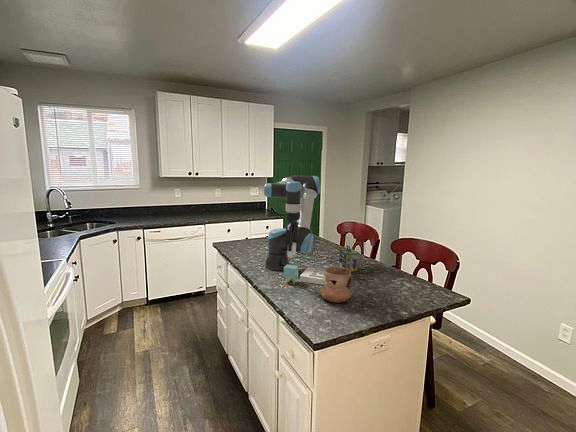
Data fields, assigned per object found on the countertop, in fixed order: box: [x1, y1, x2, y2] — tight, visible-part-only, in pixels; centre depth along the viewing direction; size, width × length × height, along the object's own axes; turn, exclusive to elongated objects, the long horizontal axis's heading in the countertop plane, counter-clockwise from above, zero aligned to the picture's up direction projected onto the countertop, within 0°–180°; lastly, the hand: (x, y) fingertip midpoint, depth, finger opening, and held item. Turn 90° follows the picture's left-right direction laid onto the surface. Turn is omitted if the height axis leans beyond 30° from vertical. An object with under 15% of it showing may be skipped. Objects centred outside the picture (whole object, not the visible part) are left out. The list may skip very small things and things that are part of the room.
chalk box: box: [338, 245, 360, 273], centre depth 186 cm, size 9×9×15 cm
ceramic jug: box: [319, 265, 353, 304], centre depth 145 cm, size 18×14×14 cm
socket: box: [299, 266, 327, 286], centre depth 171 cm, size 20×16×4 cm
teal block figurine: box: [283, 264, 300, 284], centre depth 165 cm, size 7×5×8 cm
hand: (291, 255), depth 163 cm, fingers open, 4 cm apart
